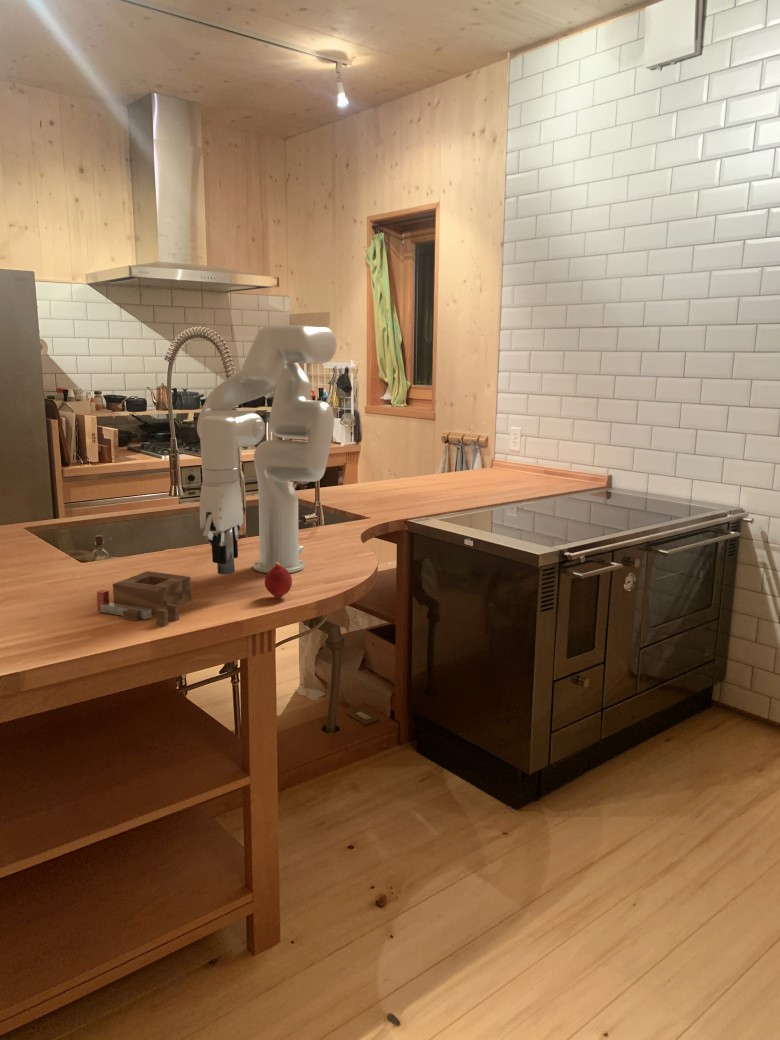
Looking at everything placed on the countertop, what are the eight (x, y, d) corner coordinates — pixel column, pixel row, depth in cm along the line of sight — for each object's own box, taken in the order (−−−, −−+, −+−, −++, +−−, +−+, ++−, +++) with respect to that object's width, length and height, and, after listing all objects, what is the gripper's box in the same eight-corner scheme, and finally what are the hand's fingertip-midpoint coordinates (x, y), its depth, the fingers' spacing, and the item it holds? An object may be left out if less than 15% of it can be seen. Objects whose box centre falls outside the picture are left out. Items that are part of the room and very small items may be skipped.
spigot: (223, 568, 167) (221, 523, 165) (237, 570, 166) (235, 525, 163) (214, 573, 164) (211, 528, 161) (228, 575, 163) (226, 529, 160)
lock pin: (103, 608, 157) (102, 589, 156) (151, 616, 153) (150, 596, 152) (97, 611, 155) (96, 592, 154) (145, 619, 151) (144, 599, 150)
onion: (293, 594, 170) (292, 559, 168) (290, 602, 164) (290, 566, 162) (266, 594, 169) (266, 558, 168) (263, 602, 164) (262, 565, 162)
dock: (148, 593, 168) (147, 571, 167) (212, 602, 163) (212, 579, 162) (96, 614, 154) (94, 590, 153) (164, 626, 148) (163, 601, 147)
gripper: (227, 467, 168) (231, 547, 173) (181, 481, 153) (187, 569, 158) (257, 469, 166) (260, 551, 170) (213, 484, 151) (218, 573, 155)
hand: (225, 559), depth 164 cm, fingers closed on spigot, 3 cm apart
